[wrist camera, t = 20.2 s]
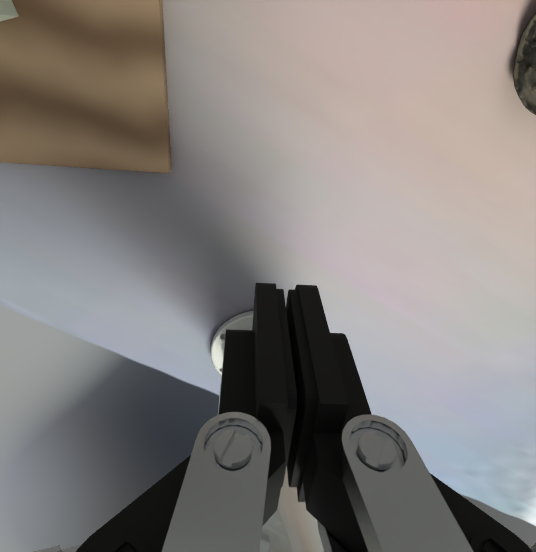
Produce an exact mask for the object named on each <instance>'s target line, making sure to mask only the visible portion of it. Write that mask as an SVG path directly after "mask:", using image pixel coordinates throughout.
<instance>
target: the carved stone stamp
mask: <svg viewBox="0 0 536 552" xmlns="http://www.w3.org/2000/svg"><path fill="white" fill-rule="evenodd" d="M513 78H514V85H515V89H516V91H517V94H518V96H519V98H520V100H521V101H522V103H523V105H524V106H525V107H526V108H527V109H528V110H529V111H530V112H532V113H533V114H535V115H536V14H535V15H534V16H533V18H532V19H531V20H530V22H529V23H528V25H527V27H526V28H525V30H524V32H523V34H522V37H521V40H520V43H519V46H518V52H517V56H516V60H515V68H514V73H513Z"/></svg>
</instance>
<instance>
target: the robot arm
mask: <svg viewBox="0 0 536 552" xmlns="http://www.w3.org/2000/svg"><path fill="white" fill-rule="evenodd" d="M211 359H212V362H213V365H214V367H215V368H216V370H217V371H218V372H219V374H220V375H221V387H220V399H219V410H218V415H217V416H215V417H214V418H212V419H210V420H209V421H208V422H207V423H206V424H205V425H204V426H203V427H202V428H201V430H200V432H199V434H198V436H197V438H196V441H195V445H194V448H193V451H192V455H190V456H189V457H188V458H187V459H185V460H184V461H183V462H182V463H180V464H179V465H178V466H177V467H175V468H174V469H173V470H172V471H171V472H169V473H168V474H167V475H166V476H164V477H163V478H162V479H161V480H159V481H158V482H157V483H156V484H154V485H153V486H152V487H151V488H149V489H148V490H147V491H146V492H144V493H143V494H142V495H141V496H139V497H138V498H137V499H136V500H135V501H133V502H132V503H131V504H129V505H128V506H127V507H126V508H125V509H123V510H122V511H121V512H120V513H118V514H117V515H116V516H115V517H114V518H112V519H111V520H110V521H108V522H107V523H106V524H105V525H104V526H102V527H101V528H100V529H98V530H97V531H96V532H95V533H94V534H92V535H91V536H90V537H89V538H88V539H87V540H86V541H85V542H84V543H83V544H82V545H79V546H75V547H71V548H67V549H63V550H61V548H60V546H59V545H58V546H55V547H51V548H47V549H43V550H39V551H35V552H536V543H535V544H534V545H533V546H530V545H527V544H525V543H524V542H523V541H522V540H521V539H520V538H519V537H517V536H516V535H515V534H514V533H512V532H511V531H510V530H508V529H507V528H505V527H504V526H503V525H501V524H500V523H499V522H497V521H496V520H494V519H493V518H492V517H490V516H489V515H487V514H486V513H485V512H483V511H481V510H480V509H479V508H478V507H476V506H475V505H473V504H472V503H471V502H469V501H468V500H467V499H465V498H463V497H462V496H461V495H460V494H458V493H457V492H455V491H454V490H453V489H451V488H450V487H448V486H447V485H446V484H444V483H443V482H441V481H440V480H439V479H437V478H436V477H434V476H433V475H432V474H430V473H429V471H428V469H427V468H426V466H425V464H424V462H423V461H422V459H421V457H420V455H419V453H418V452H417V450H416V448H415V446H414V445H413V443H412V441H411V440H410V438H409V437H408V435H407V434H406V433H405V431H404V430H402V429H401V428H400V427H399V426H398V425H397V424H395V423H394V422H392V421H390V420H388V419H386V418H384V417H380V416H377V415H372V414H371V411H370V408H369V405H368V402H367V399H366V396H365V393H364V390H363V387H362V383H361V380H360V377H359V374H358V371H357V368H356V365H355V362H354V359H353V356H352V352H351V349H350V346H349V343H348V340H347V338H346V335H345V334H343V333H330V332H329V328H328V324H327V321H326V317H325V313H324V310H323V306H322V302H321V298H320V295H319V291H318V288H317V286H314V285H296V288H295V290H289V291H288V296H287V304H286V306H285V299H284V291H283V289H276V284H270V283H256V286H255V298H254V311H249V312H245V313H242V314H239V315H237V316H234V317H233V318H231V319H229V320H228V321H226V322H225V323H224V324H223V325H222V326H221V327H220V328H219V329H218V331H217V332H216V333H215V335H214V338H213V340H212V346H211Z"/></svg>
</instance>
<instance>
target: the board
mask: <svg viewBox="0 0 536 552" xmlns="http://www.w3.org/2000/svg"><path fill="white" fill-rule="evenodd" d="M12 2H13V5H14V7H15V9H16V11H17V13H18V15H19V17H15V18H11V19H8V20H4V21H0V162H5V163H21V164H36V165H51V166H66V167H81V168H97V169H112V170H127V171H142V172H157V173H170V171H171V151H170V133H169V116H168V98H167V80H166V63H165V45H164V27H163V9H162V0H12Z"/></svg>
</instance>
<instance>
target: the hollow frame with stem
mask: <svg viewBox="0 0 536 552" xmlns="http://www.w3.org/2000/svg"><path fill="white" fill-rule="evenodd" d="M15 17H19V15H18V13H17V11H16V9H15V7H14V5H13V2H12V0H0V21H4V20H8V19H11V18H15Z"/></svg>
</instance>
